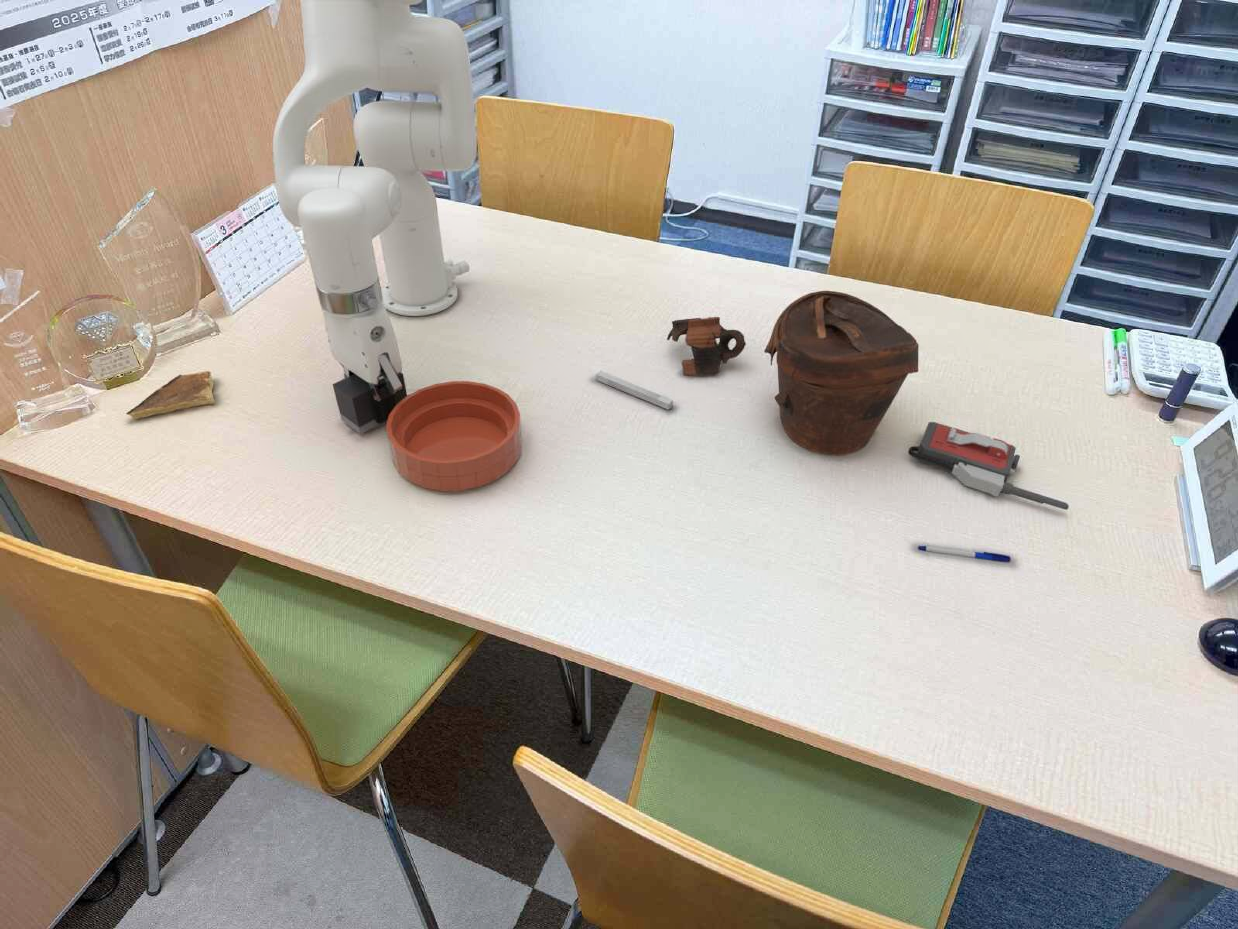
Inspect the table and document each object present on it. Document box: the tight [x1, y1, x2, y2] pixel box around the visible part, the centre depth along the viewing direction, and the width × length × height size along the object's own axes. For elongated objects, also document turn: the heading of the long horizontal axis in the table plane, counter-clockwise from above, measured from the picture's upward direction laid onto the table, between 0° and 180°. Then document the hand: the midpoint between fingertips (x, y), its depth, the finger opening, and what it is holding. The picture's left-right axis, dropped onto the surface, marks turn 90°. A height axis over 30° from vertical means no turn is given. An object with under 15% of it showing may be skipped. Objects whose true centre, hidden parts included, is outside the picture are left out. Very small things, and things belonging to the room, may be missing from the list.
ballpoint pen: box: [917, 545, 1012, 563], centre depth 97 cm, size 10×1×1 cm, turn 82°
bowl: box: [385, 380, 523, 492], centre depth 107 cm, size 17×17×6 cm
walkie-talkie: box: [907, 421, 1070, 511], centre depth 106 cm, size 9×4×20 cm
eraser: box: [332, 372, 408, 435], centre depth 112 cm, size 8×5×6 cm, turn 137°
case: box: [764, 290, 920, 456], centre depth 109 cm, size 18×20×18 cm
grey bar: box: [596, 370, 674, 411], centre depth 119 cm, size 12×1×1 cm, turn 56°
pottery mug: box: [666, 316, 747, 376], centre depth 125 cm, size 12×10×8 cm
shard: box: [126, 370, 216, 420], centre depth 116 cm, size 11×8×2 cm
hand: (375, 409), depth 113 cm, fingers closed on eraser, 4 cm apart
